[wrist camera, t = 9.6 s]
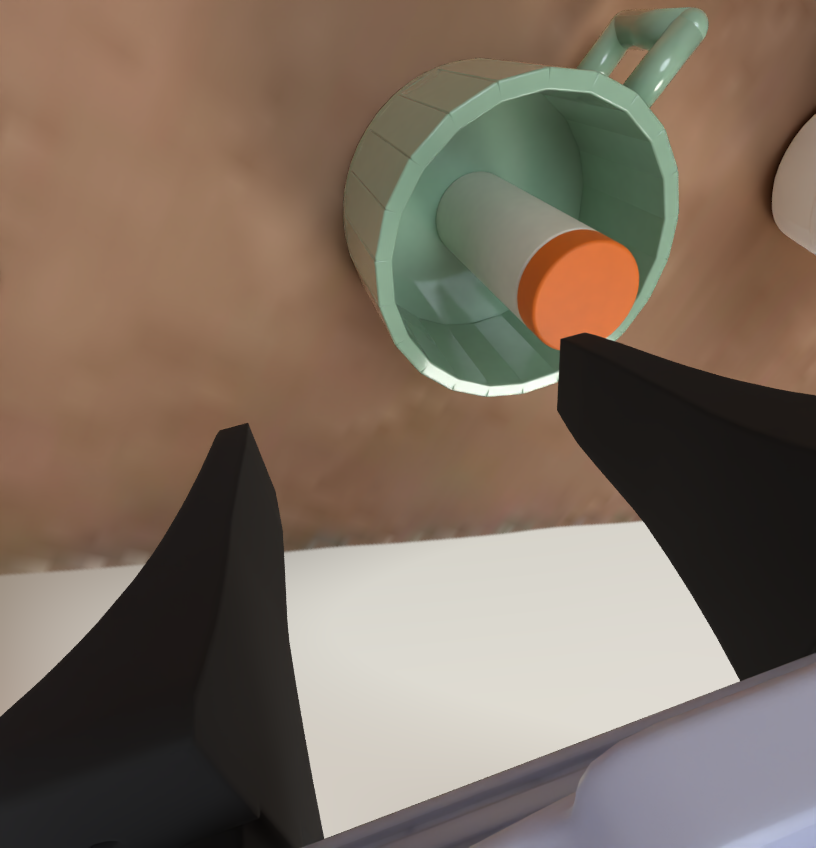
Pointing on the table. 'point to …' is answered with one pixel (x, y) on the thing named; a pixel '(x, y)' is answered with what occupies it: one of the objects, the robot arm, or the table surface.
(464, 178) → the glue stick
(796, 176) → the cup
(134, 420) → the table surface
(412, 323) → the mug
